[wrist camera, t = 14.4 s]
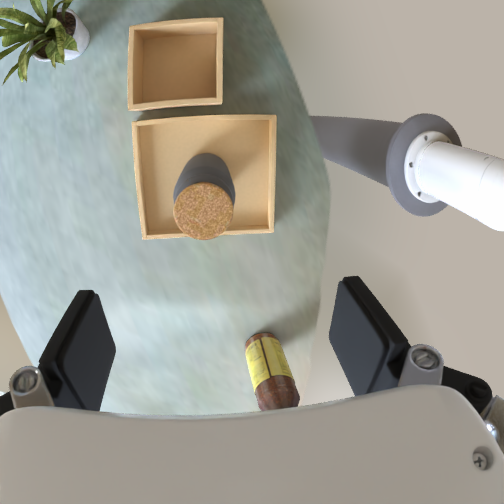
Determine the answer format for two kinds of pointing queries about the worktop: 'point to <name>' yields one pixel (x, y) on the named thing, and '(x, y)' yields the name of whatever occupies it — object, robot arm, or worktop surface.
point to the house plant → (43, 35)
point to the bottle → (204, 197)
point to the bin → (175, 64)
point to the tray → (197, 142)
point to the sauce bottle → (270, 373)
